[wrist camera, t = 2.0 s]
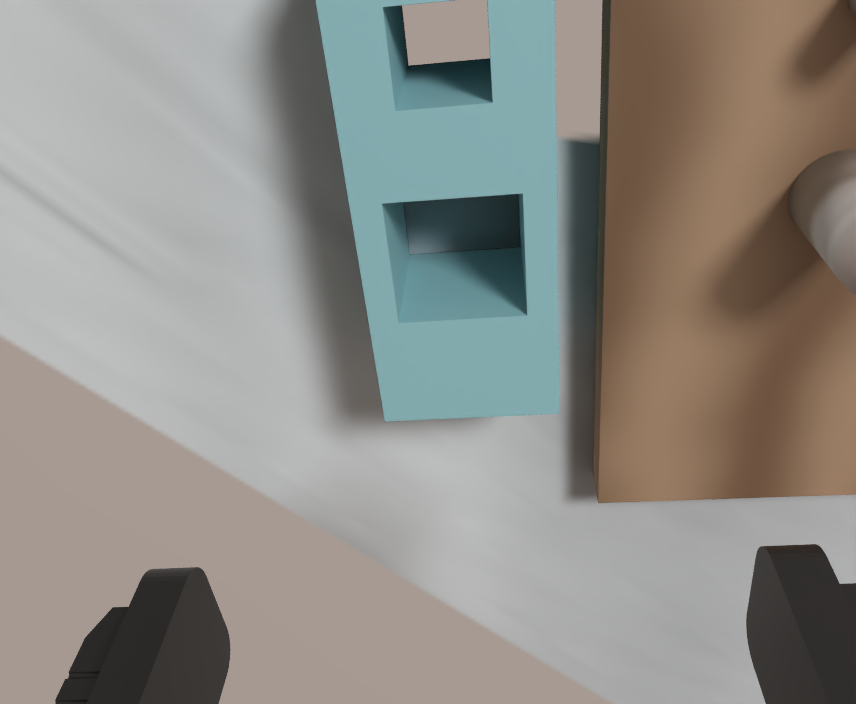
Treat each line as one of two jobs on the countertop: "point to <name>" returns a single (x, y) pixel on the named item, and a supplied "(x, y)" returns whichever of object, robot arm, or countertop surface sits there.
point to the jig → (726, 250)
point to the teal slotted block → (446, 179)
